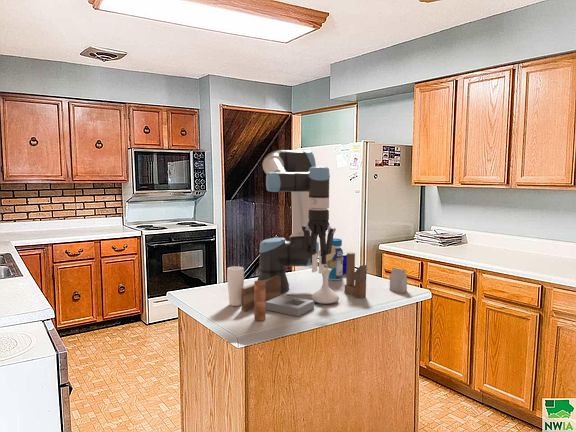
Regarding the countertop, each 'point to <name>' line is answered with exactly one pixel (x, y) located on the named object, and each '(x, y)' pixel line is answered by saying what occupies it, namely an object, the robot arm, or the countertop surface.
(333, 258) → the beverage bottle
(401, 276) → the tea bag
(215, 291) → the countertop surface
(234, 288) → the drinking glass
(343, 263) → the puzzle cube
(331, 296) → the flower in vase
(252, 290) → the backstop board
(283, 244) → the robot arm
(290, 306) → the holed block
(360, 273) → the wooden block
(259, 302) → the dowel
